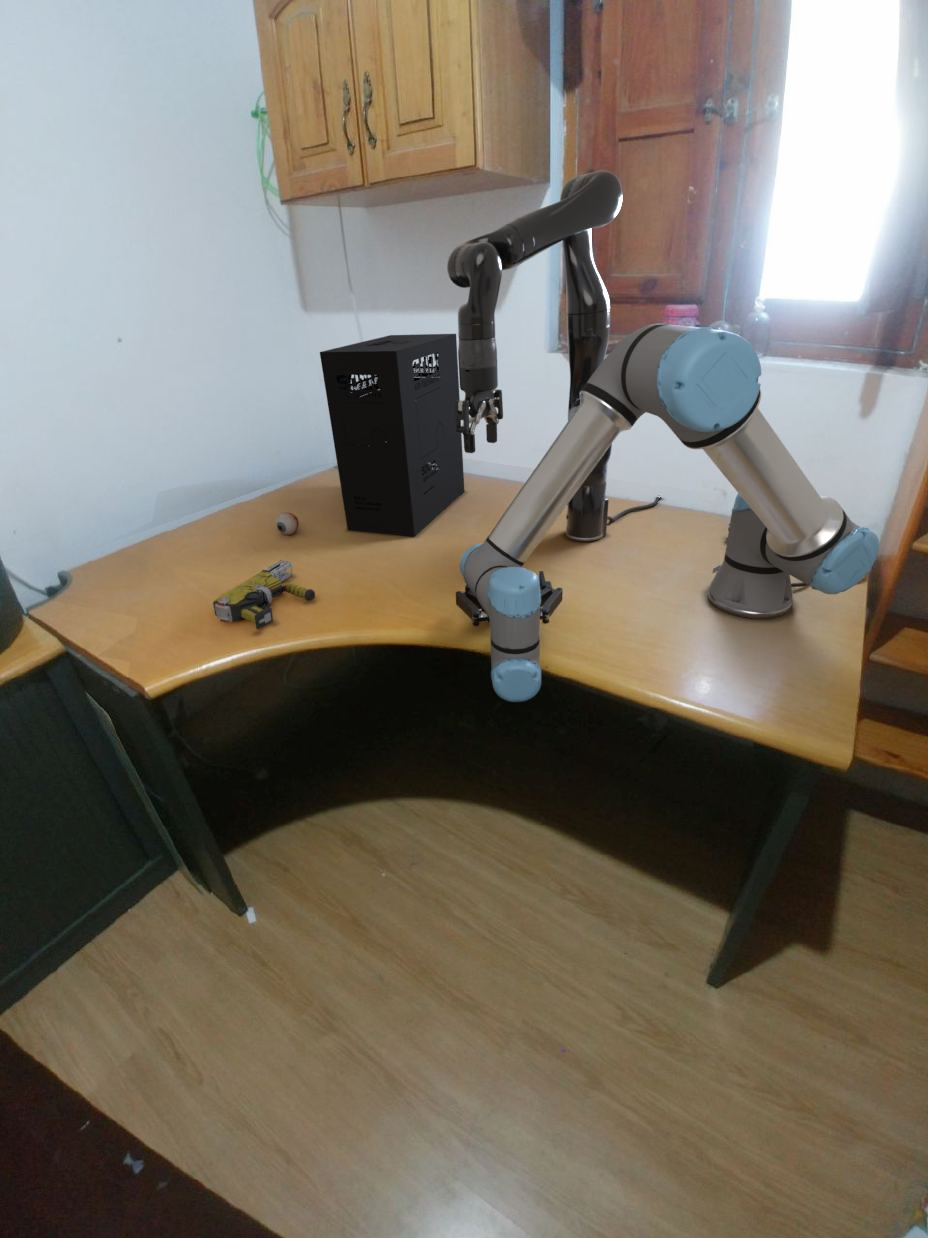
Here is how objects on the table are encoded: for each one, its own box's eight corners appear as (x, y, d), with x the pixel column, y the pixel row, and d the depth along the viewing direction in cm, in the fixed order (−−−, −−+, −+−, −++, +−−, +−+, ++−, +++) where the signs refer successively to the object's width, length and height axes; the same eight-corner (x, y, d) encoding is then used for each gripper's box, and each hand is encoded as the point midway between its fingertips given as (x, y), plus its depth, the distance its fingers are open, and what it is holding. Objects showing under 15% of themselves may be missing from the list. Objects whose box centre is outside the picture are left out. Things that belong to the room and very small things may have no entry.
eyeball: (273, 537, 164) (268, 516, 161) (287, 528, 169) (282, 508, 166) (291, 539, 161) (286, 518, 158) (305, 530, 166) (301, 510, 163)
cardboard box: (406, 487, 196) (390, 335, 173) (464, 491, 189) (456, 333, 167) (347, 529, 166) (319, 351, 143) (414, 536, 159) (396, 350, 136)
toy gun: (335, 569, 136) (278, 557, 140) (271, 616, 116) (207, 600, 120) (336, 587, 139) (280, 575, 142) (274, 637, 118) (211, 621, 122)
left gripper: (481, 358, 124) (484, 437, 132) (441, 368, 114) (446, 454, 122) (512, 358, 120) (513, 441, 128) (474, 369, 110) (477, 458, 118)
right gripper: (441, 653, 105) (446, 596, 124) (584, 649, 104) (568, 592, 123) (438, 616, 102) (444, 563, 120) (586, 611, 101) (570, 558, 119)
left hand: (481, 447), depth 125 cm, fingers open, 8 cm apart
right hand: (507, 578), depth 121 cm, fingers open, 13 cm apart
